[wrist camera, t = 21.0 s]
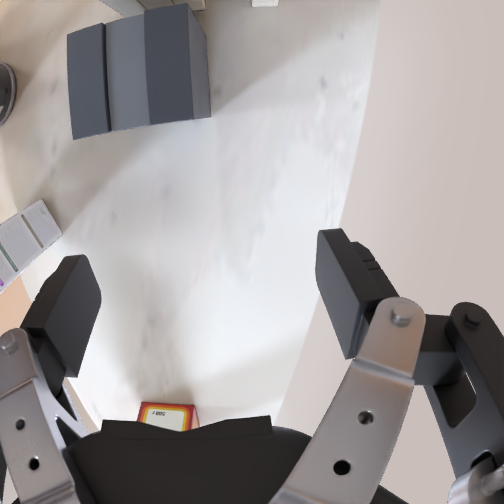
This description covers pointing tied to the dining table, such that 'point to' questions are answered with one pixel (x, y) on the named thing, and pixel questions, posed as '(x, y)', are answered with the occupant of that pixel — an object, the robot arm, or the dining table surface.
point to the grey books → (138, 72)
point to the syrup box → (25, 240)
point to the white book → (264, 3)
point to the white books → (148, 5)
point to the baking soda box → (169, 416)
